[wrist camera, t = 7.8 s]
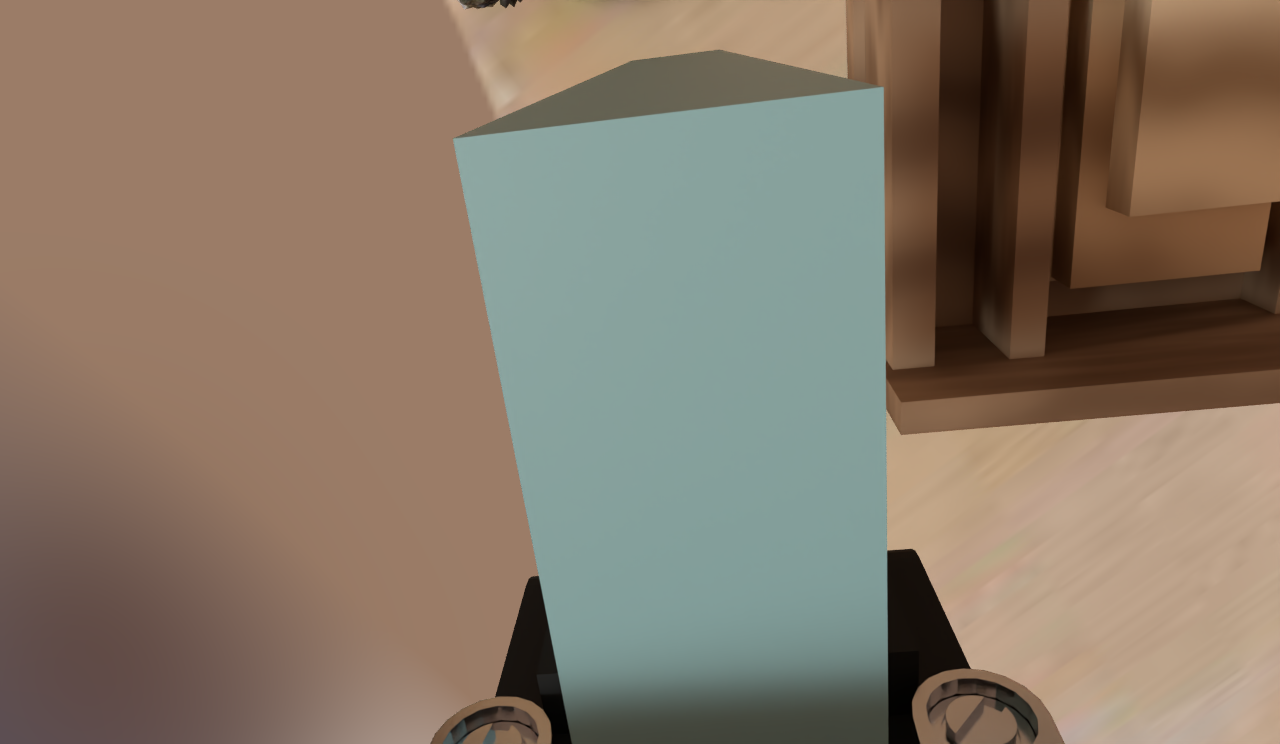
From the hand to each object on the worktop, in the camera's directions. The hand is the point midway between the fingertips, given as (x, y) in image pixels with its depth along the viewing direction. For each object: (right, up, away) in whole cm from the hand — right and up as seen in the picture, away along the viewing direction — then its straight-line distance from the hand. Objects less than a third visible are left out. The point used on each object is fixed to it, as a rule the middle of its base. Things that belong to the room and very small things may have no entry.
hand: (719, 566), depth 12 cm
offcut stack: (+21, +16, +25) cm, 36 cm away
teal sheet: (+1, +5, +14) cm, 15 cm away
